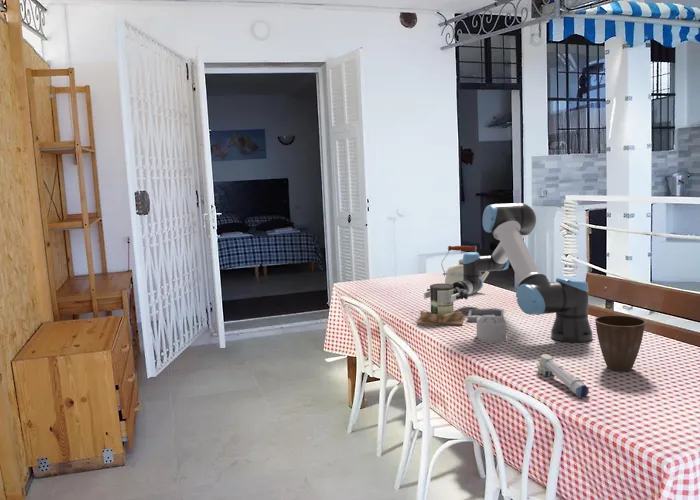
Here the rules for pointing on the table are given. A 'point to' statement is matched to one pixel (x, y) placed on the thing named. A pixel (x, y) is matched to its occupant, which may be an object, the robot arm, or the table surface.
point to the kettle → (459, 267)
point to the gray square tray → (486, 312)
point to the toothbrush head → (561, 375)
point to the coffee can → (441, 298)
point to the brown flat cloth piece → (441, 318)
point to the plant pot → (619, 340)
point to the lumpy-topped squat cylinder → (491, 329)
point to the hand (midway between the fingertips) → (437, 297)
